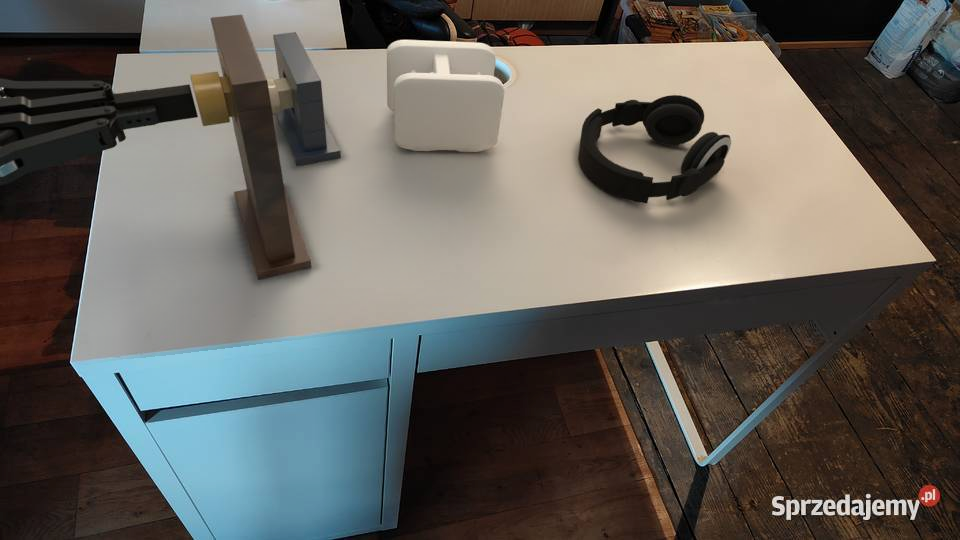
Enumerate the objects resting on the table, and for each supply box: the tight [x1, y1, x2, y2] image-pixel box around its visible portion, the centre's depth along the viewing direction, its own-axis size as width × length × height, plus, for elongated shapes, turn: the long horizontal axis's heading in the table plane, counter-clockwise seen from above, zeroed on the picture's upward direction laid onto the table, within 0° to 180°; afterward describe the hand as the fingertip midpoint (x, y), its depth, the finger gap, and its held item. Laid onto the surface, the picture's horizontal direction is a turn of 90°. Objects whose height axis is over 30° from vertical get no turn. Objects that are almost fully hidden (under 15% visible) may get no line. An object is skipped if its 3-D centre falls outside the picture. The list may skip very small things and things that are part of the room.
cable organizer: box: [386, 39, 505, 153], centre depth 91 cm, size 15×11×12 cm
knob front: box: [189, 71, 236, 127], centre depth 64 cm, size 6×5×5 cm
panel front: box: [210, 14, 313, 281], centre depth 70 cm, size 6×14×24 cm, turn 23°
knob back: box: [266, 75, 294, 116], centre depth 86 cm, size 6×5×5 cm
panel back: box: [272, 31, 342, 167], centre depth 88 cm, size 6×14×12 cm, turn 25°
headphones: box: [577, 94, 732, 204], centre depth 92 cm, size 18×8×20 cm
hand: (193, 100), depth 63 cm, fingers closed
